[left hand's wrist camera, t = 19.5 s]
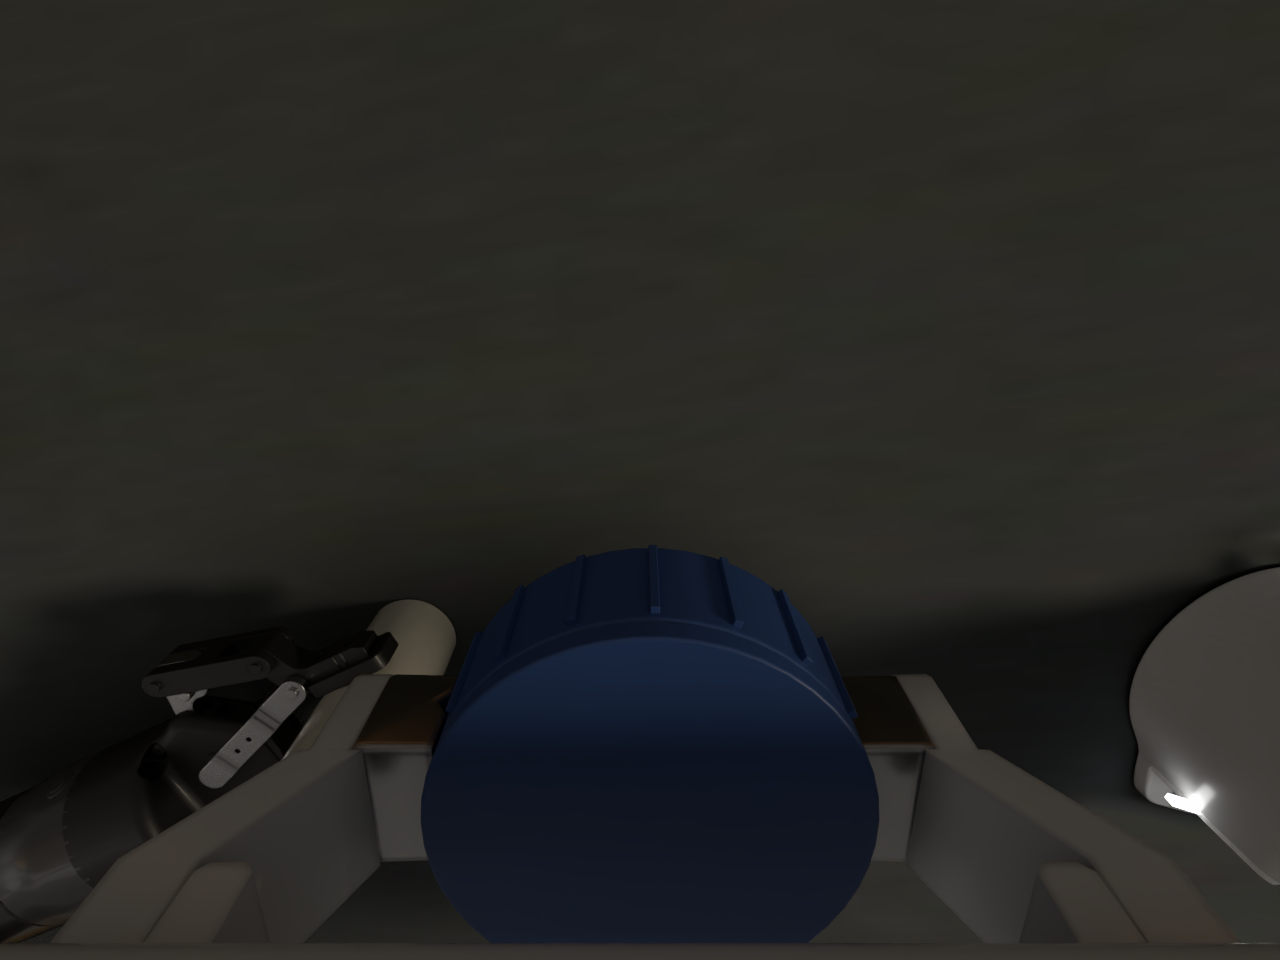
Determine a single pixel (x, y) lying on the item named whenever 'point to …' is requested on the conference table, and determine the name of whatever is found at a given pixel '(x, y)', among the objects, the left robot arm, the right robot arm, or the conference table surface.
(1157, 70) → the conference table surface
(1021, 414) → the conference table surface
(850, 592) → the conference table surface
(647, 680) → the lid
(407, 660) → the jar
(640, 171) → the conference table surface
